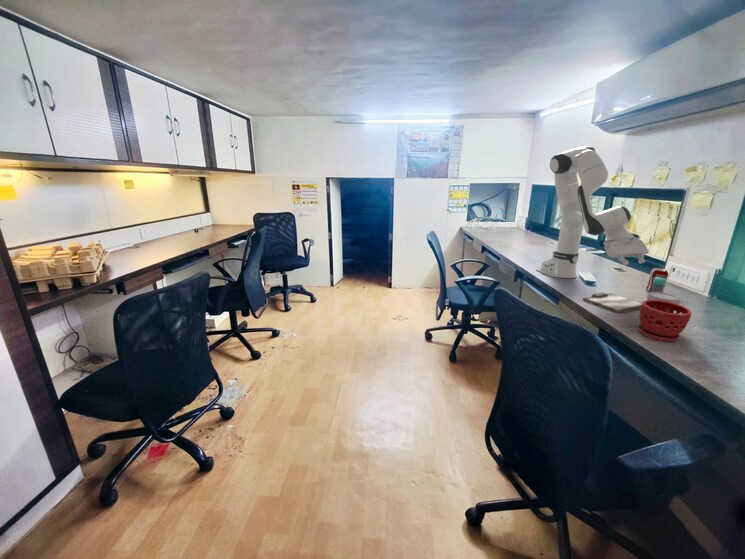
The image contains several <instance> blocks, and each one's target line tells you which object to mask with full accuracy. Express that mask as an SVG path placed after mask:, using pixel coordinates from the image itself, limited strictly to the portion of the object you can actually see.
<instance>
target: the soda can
mask: <svg viewBox="0 0 745 559" xmlns="http://www.w3.org/2000/svg"><path fill="white" fill-rule="evenodd" d="M655 277H659V278H665V279H666V283H667V280H668V277H669V272H668V269H667V268H661V267H653V268H652V270H650V272H649V277H648V281H647V283H646V287H645V289H646V291H647V292H649V291H650V292H651V289H652V285H653V281H654V278H655ZM666 283H665V285H664V288H663V292H664V290H665V288H666V287H665V286H666ZM650 292H649V293H650Z"/></svg>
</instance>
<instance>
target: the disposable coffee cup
mask: <svg viewBox="0 0 745 559" xmlns="http://www.w3.org/2000/svg"><path fill="white" fill-rule="evenodd" d="M646 300H661V301H666V302H671V303H675V304H678V305H679V304H680V299H679V297H678V296H676V295H673V294H670V293H666V292H662V293H660V292H649V293H647V295H646ZM653 308H654V309H655V308H656V307H655V306H654V307H653ZM665 311H666V312H669V311H670V310H669V309H665Z"/></svg>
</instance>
